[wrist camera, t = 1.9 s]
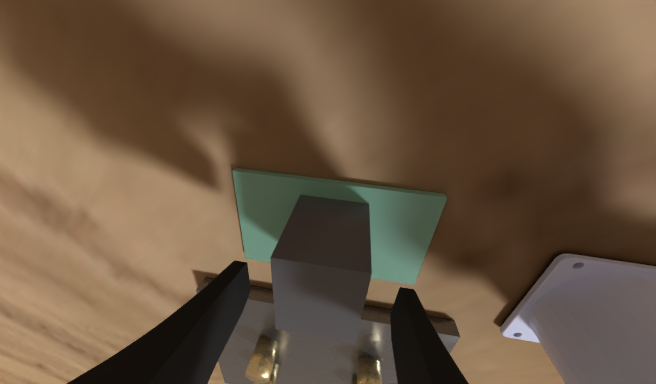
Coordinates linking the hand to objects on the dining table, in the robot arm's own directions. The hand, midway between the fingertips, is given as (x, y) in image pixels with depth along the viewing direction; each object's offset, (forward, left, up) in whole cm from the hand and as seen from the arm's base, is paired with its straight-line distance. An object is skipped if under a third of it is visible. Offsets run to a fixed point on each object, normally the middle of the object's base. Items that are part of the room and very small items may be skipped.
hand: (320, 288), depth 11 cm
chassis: (0, +15, -5) cm, 16 cm away
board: (0, 0, -5) cm, 5 cm away
